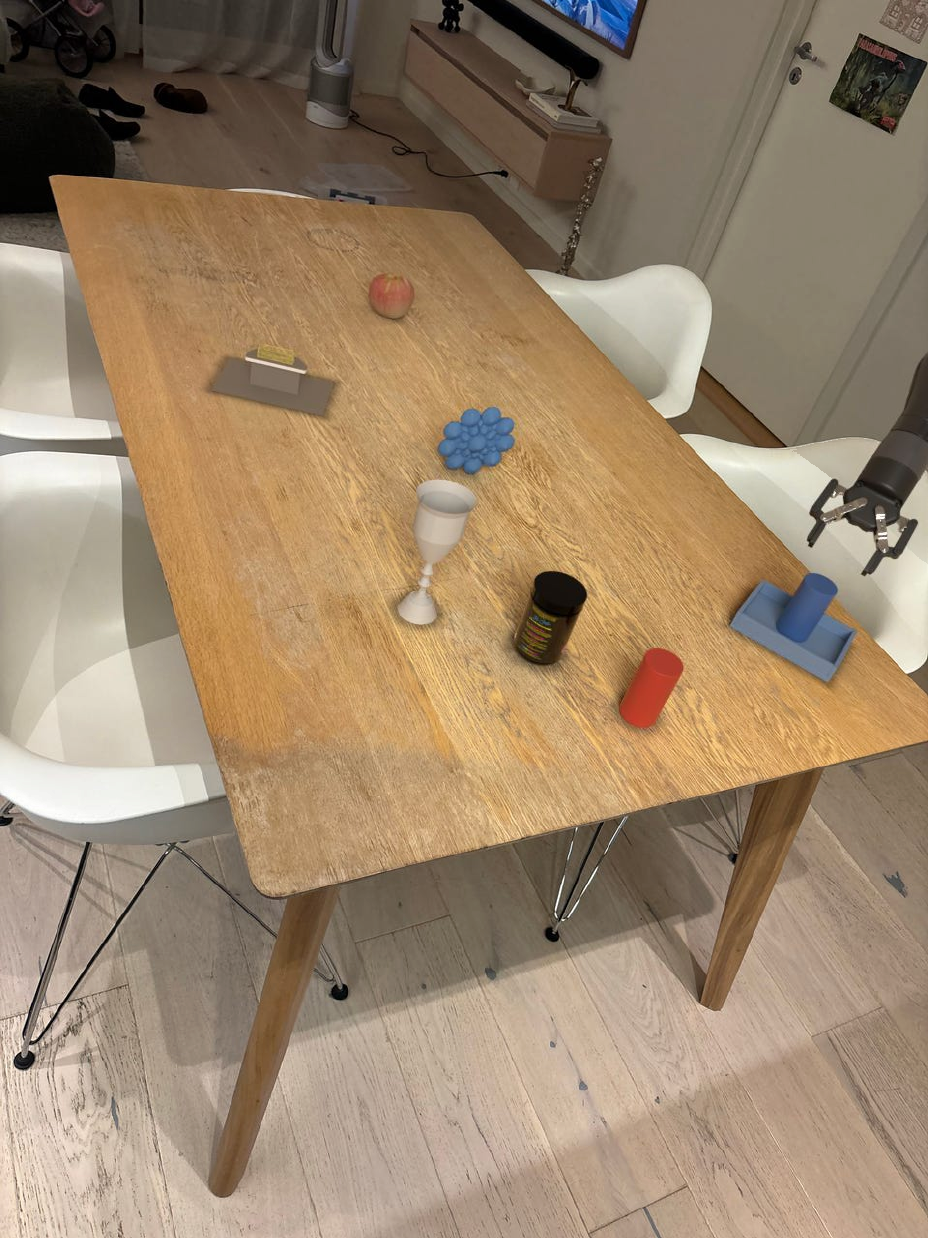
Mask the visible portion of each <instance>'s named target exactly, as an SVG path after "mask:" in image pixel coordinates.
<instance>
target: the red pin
mask: <svg viewBox="0 0 928 1238" xmlns="http://www.w3.org/2000/svg"><path fill="white" fill-rule="evenodd" d="M637 667H638V668H637V669H636V671H635V673H634V675H633V677H632V679H631V682H630V683H629V685H628V687H627V689H626V691H625V694H624V695H623V697H622V699H621V702H620V704H619V707H618V708H619V713H620V715H621V717H622V718H623V719H624V720H625V721H626V722H627V723H629V724H630V725H632V726H634V727H637V728H642V729H647V728H650V727H653V726H654V725H655V724H656V723H657V721H658V719H659V717H660V715H661V713H662V711H663V710H664V707H665V706H666V704H667V702H668V700H669V699H670V696H671V695H672V693H673V691H674V689H675V688H676V685H677V684H678V682H679V680H680V678H681V676H682V674H683V672H684V670H685V669H684V663H683V661H682V659H681V658H680V657H679V656H677V655H676V654H675V653H674V652H672V651H670V650H668V649H666V648H661V647H652V648H649V649H647V650H646V651H645V652H644V655H643V656H642V659H641V661H640V663H639V665H638V666H637Z"/></svg>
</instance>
